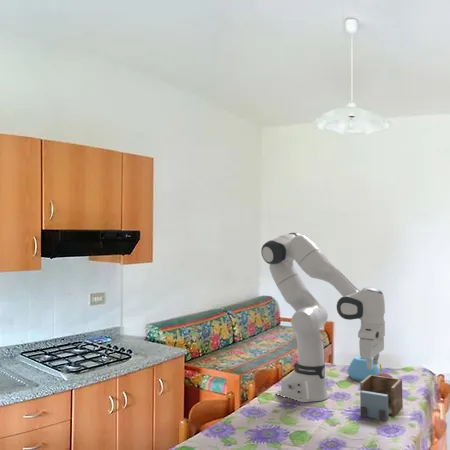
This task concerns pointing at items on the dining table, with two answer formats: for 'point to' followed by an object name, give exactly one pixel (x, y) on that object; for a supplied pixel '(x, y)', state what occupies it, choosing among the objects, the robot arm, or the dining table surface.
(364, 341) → the robot arm
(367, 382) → the cabinet
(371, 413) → the door
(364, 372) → the sugar bowl
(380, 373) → the cupcake
